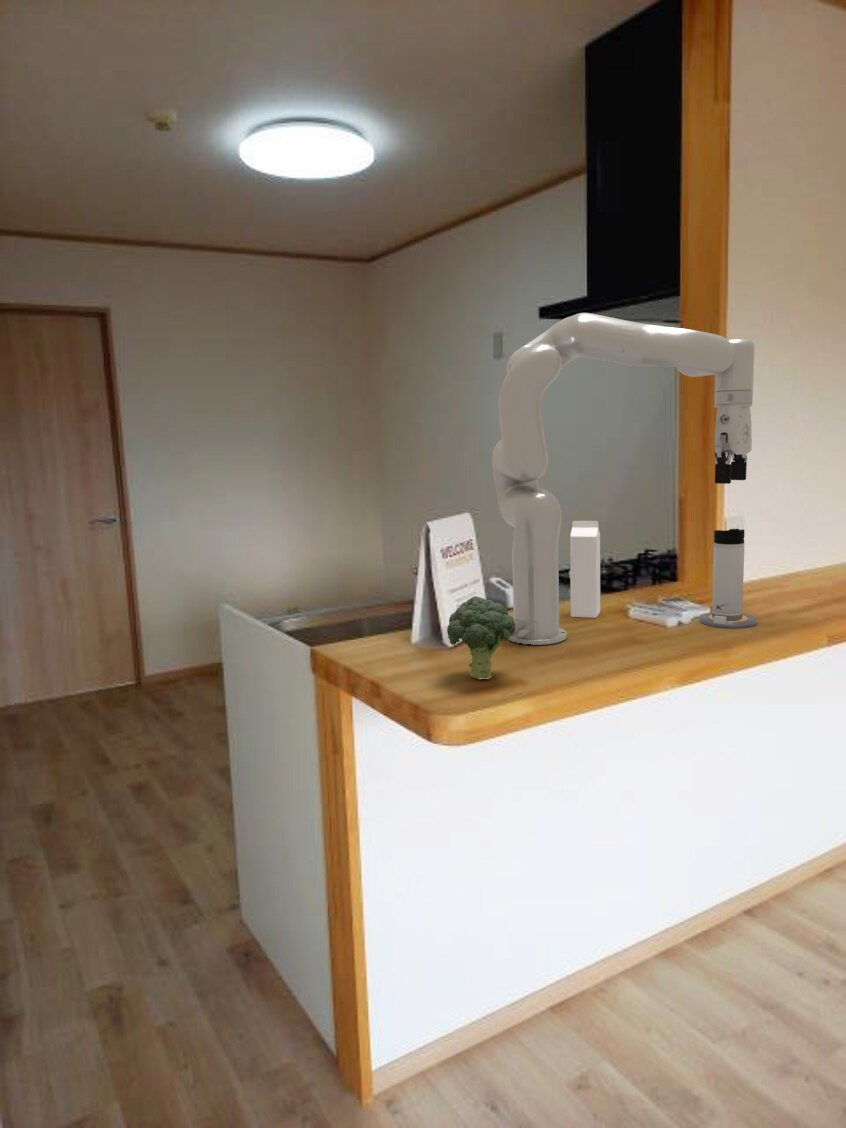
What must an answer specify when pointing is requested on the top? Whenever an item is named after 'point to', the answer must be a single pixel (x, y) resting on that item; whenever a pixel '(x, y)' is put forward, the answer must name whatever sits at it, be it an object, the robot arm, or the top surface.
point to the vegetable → (480, 631)
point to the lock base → (722, 623)
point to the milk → (585, 569)
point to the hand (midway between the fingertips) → (730, 481)
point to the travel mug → (728, 574)
